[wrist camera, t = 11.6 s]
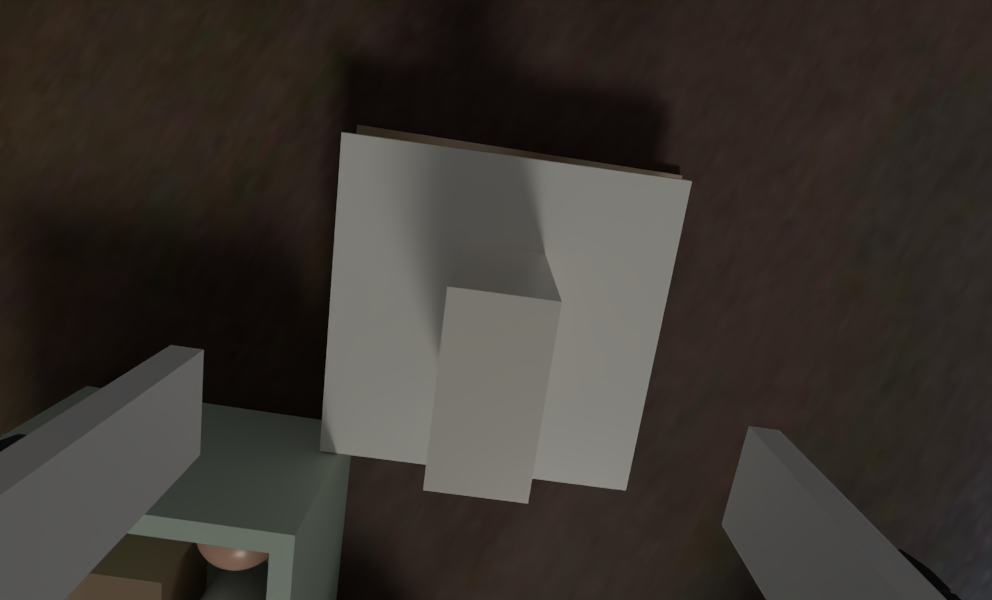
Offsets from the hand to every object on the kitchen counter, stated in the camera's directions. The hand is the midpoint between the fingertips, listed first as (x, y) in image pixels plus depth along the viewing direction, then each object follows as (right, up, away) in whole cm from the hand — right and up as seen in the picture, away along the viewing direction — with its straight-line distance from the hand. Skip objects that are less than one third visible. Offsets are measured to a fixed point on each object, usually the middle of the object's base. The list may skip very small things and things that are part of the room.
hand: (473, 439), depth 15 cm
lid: (+1, +3, +11) cm, 12 cm away
